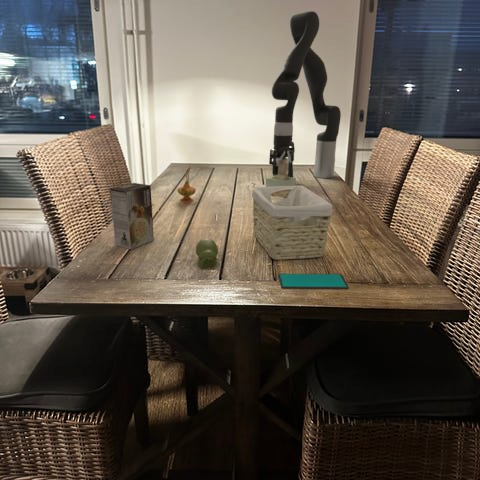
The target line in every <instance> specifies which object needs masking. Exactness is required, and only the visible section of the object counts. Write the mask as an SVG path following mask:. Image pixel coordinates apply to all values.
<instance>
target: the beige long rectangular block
mask: <svg viewBox="0 0 480 480" xmlns="http://www.w3.org/2000/svg"><path fill="white" fill-rule="evenodd" d="M276 162H277V161H276ZM288 165H289V159H282V160H281V161H280V162H279V164H278V175H275V176H274V179H277V180H282V181H284V180H288Z"/></svg>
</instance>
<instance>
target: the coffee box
mask: <svg viewBox="0 0 480 480" xmlns="http://www.w3.org/2000/svg"><path fill="white" fill-rule="evenodd" d="M151 186H152V185H150V184H143V183H137V182H132V183H128V184H123V185H120V186H116V187H115V186H114V187H111V188H109V191H110V192H109V193H110V201H111V202H110V203H111V214H112V223H113V224H112V225H113V235H114V245H115V246H117V247H121V248H124V249H129V250H133V249H135V248H138V247H140V246H143V245H146V244H147V243H151V242H153V241H154V240H155V238H154V237H155V236H154V220H153V219H154V218H153V205H152V204H153V203H152V190H151V189H152V187H151Z"/></svg>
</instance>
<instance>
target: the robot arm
mask: <svg viewBox="0 0 480 480" xmlns="http://www.w3.org/2000/svg"><path fill="white" fill-rule="evenodd" d="M289 29H290V34H291V36H292V40H293V42H294V44H295V46H294V47H293V48H292V49H291V50H290V52H289V53H288V55H287V56H286V59H285V60H284V61H285V62H284V63H283V68H282V71H281V72H280V74H279V75H278V77H277V78H276V80H275V81H274V82H273V84H272V87H271V95H272V96H271V97H273V99H275V100H276V101H287V102H286V104H285V105H282V106H278V107H276V109H275V113H274V114H275V116H274V119H275V120H274V126H273V127H274V129H273V146H274V145H275V146H276V148H275V150H273V149H270V150H269V158H268V159H269V162H268V164H269V165H270V166H272V172H271V173H272V175H278V164H279V162H280V161H281V160H282V159H289V165H288V172H290V163H291V162H292V161H293V162H294V161H295V152H294V148H295V146H294V147H290V146H291V145H292V142H293V136H294V135H293V133H294V127H293V126H294V125H293V122H294V111H295V106H296V102H297V100H298V97H299V94H300V86H299V84H298V83H297V82H296V81H297V80H298V79H299V77H300V75H301V71H302V70H303V73H304V77H305V81H306V83H307V88H308V91H309V94H310V99H311V105H312V110H313V116H314V119H315V122H316V123H317V124H318V125H319V126H323V127H324V126H326V127H325V128H326V129H325V130H324V131H323V132H320V133H318V134H317V135H316V143H315V144H316V147H315V159H314V160H315V161H314V170H313V171H314V172H313V176H314V177H316V178H320V179H331V178H333V177H334V173H335V166H336V163H335V162H336V148H337V138H338V135H339V131H340V124H341V119H342V118H341V115H342V113H341V109H340V107H339V106H336V105H329V104H326V103H325V98H324V92H325V88H326V85H327V84H328V83H327V82H328V73H327V69H326V65H325V62H324V61H323V60H322V58H321V56H319V55H318V54H317V53H316V52H315V51H314V49H312V48H311V47H312V45H313V43H314V41H315V39H316V37H317V35H318V32H319V30H320V18H319V16H318V13H317V12H315V11H304V12H301V13H297V14H294V15H292V16H291V17H290V19H289ZM290 155H291V156H292V158H291V156H290ZM276 157H277V158H276ZM276 161H277V162H276Z"/></svg>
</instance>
